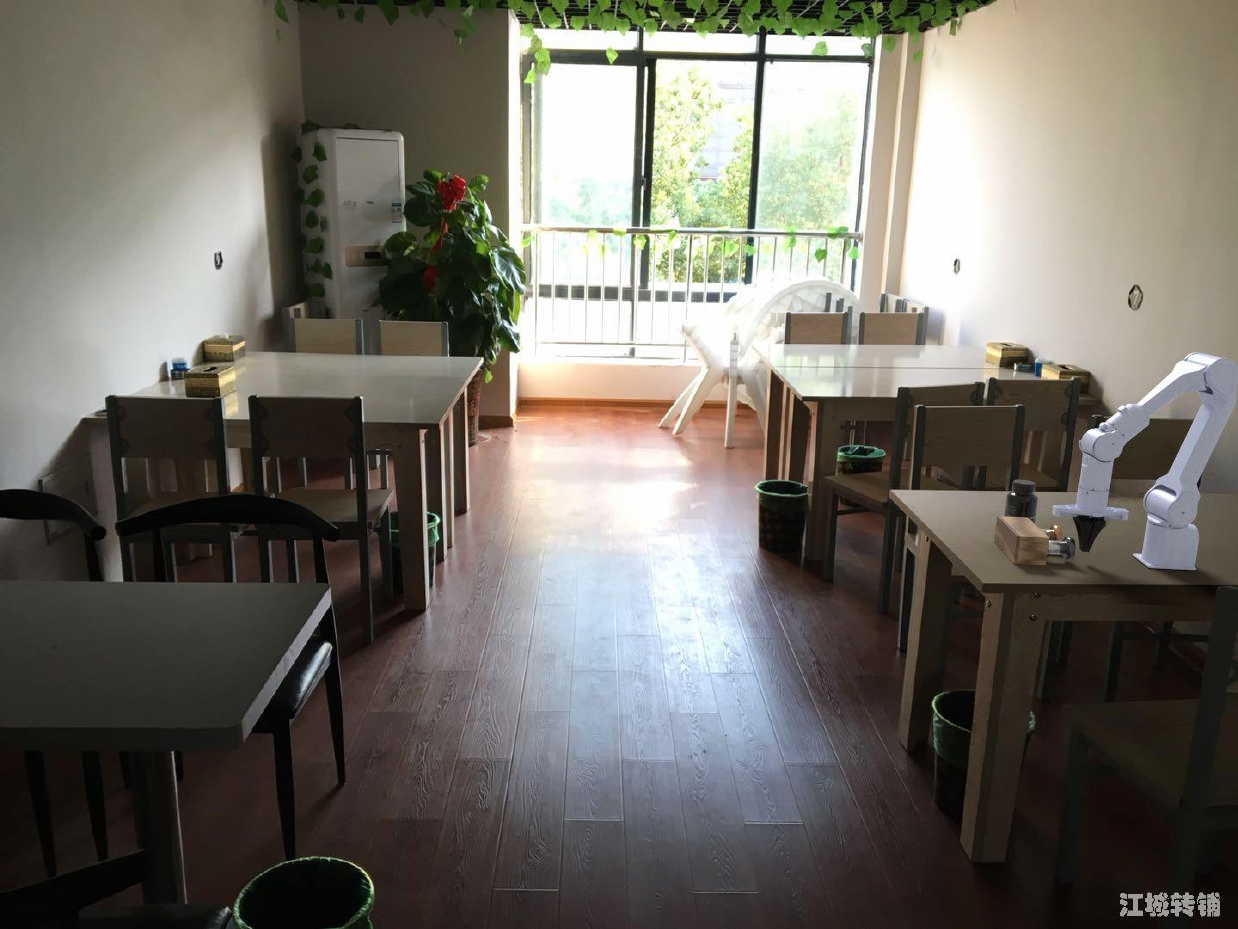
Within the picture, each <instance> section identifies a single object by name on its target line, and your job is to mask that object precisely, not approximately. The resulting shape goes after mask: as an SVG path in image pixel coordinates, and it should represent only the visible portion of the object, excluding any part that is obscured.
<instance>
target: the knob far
mask: <svg viewBox="0 0 1238 929" xmlns="http://www.w3.org/2000/svg"><path fill="white" fill-rule="evenodd" d="M1040 529H1041V530H1042V531H1043V532H1044V533H1045V534H1046V535H1047V536H1048V537H1049V540H1050V541H1062V540H1063V539H1062V538H1063V532H1062V528H1061V526H1060V525H1050V527H1049V529H1048V528H1040Z"/></svg>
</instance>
